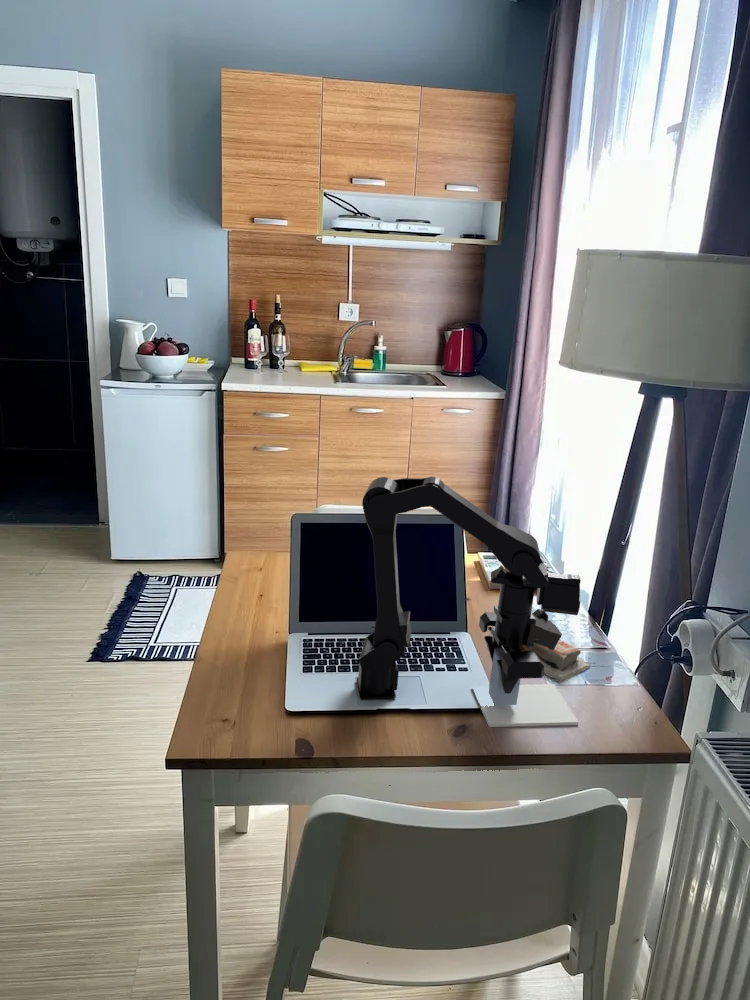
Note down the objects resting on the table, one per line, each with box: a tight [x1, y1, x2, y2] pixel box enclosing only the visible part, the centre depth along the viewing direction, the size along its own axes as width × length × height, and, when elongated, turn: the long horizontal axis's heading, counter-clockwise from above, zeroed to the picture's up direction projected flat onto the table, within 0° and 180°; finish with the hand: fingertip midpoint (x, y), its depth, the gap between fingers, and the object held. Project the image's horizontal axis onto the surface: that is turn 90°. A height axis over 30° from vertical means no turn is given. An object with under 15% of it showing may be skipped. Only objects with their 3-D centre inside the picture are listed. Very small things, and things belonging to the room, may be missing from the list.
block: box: [488, 648, 522, 705], centre depth 135 cm, size 4×4×9 cm
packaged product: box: [523, 639, 592, 682], centre depth 155 cm, size 18×5×10 cm
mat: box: [480, 683, 579, 728], centre depth 137 cm, size 16×12×1 cm
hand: (504, 686), depth 135 cm, fingers closed on block, 4 cm apart
